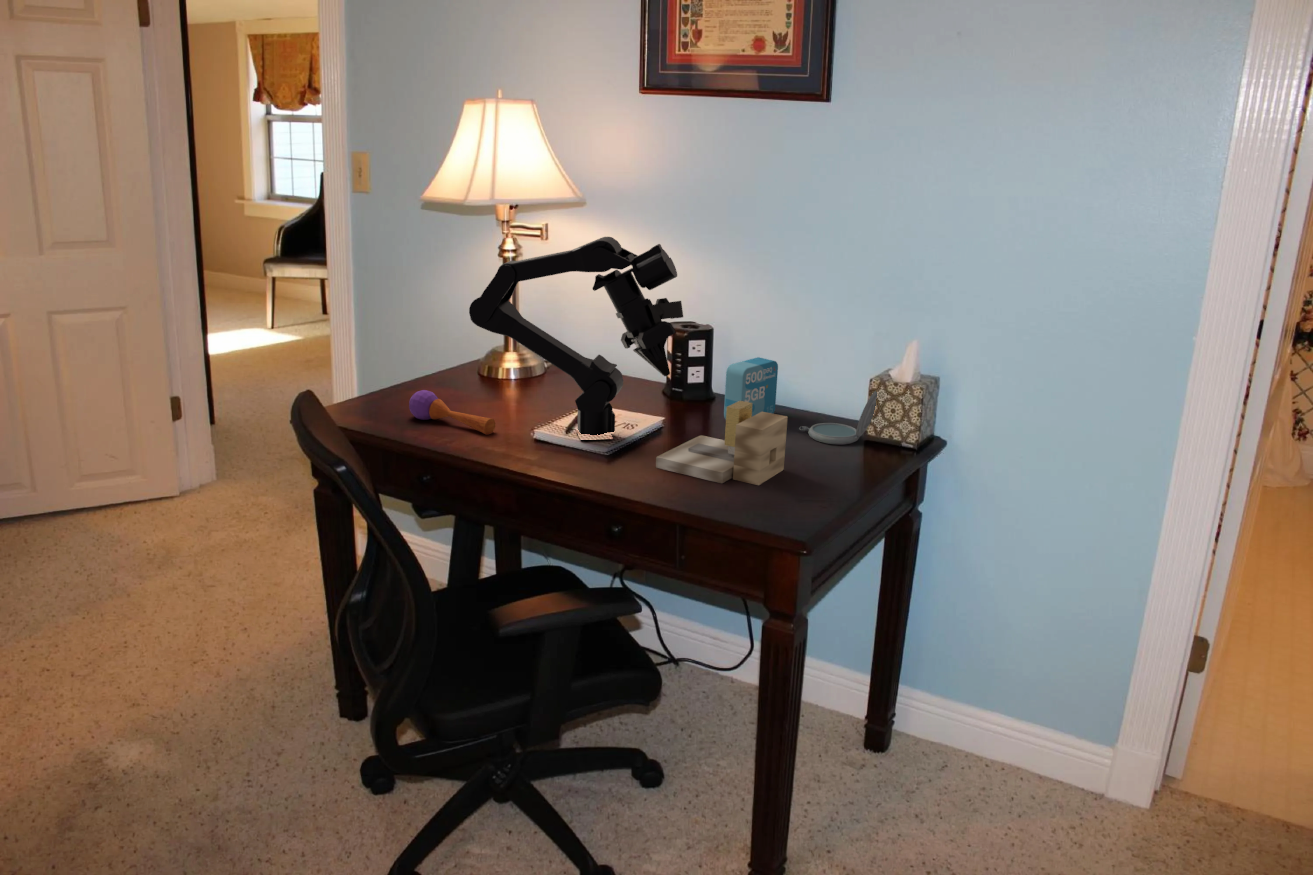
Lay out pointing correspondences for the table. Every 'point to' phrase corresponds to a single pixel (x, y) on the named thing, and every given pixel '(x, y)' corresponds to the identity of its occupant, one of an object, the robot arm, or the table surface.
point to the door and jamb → (751, 461)
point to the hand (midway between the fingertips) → (667, 375)
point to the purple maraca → (445, 412)
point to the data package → (752, 384)
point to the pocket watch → (843, 427)
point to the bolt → (735, 421)
